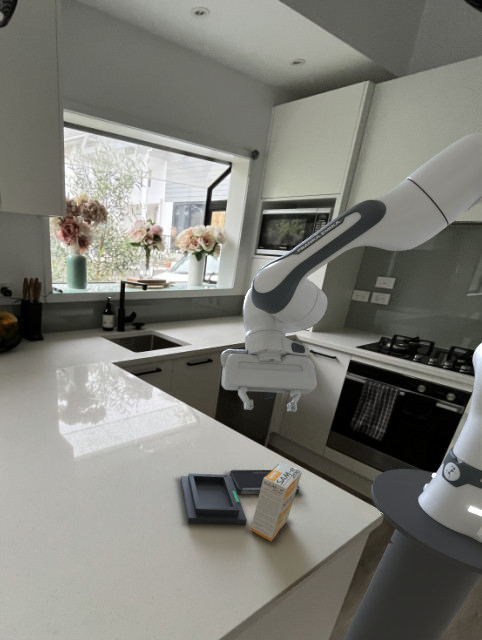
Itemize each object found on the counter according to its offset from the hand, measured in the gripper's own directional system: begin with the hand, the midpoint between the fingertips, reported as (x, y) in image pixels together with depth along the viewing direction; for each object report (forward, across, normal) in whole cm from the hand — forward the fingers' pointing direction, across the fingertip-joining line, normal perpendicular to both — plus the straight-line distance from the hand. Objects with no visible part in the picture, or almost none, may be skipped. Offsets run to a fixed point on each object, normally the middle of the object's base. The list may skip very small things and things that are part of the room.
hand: (270, 410), depth 80 cm
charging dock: (+18, -11, +11) cm, 24 cm away
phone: (+14, +3, +16) cm, 21 cm away
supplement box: (+24, 0, +6) cm, 24 cm away
